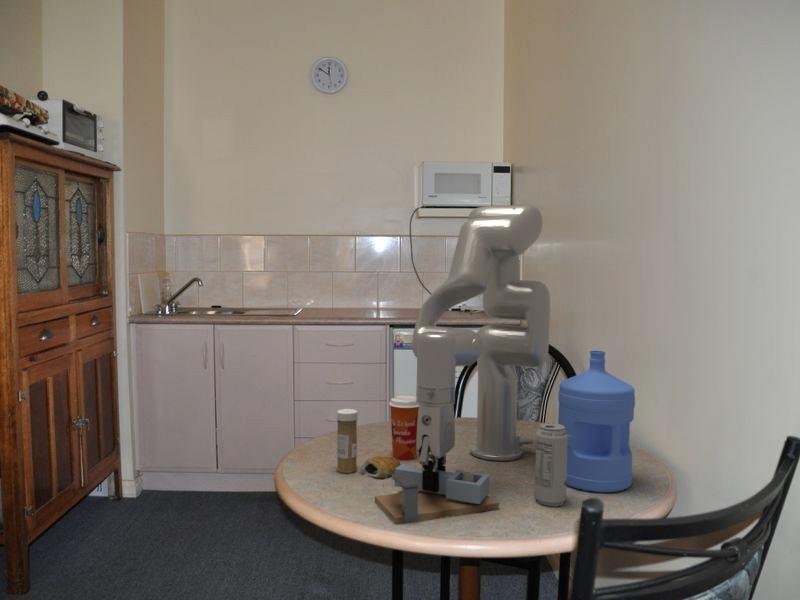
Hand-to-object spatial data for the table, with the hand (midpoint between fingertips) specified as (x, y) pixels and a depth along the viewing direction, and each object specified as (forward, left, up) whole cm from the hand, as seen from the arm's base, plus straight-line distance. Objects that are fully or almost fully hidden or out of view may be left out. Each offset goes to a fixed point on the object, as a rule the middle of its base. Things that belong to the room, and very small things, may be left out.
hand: (433, 486), depth 125 cm
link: (-1, +1, -1) cm, 1 cm away
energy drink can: (-21, +9, -3) cm, 23 cm away
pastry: (+4, -18, -3) cm, 19 cm away
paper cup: (-5, -27, -3) cm, 28 cm away
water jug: (-37, +2, -3) cm, 37 cm away
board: (+1, +3, -2) cm, 4 cm away
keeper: (+9, +5, -2) cm, 10 cm away
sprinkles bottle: (+11, -22, -3) cm, 25 cm away
